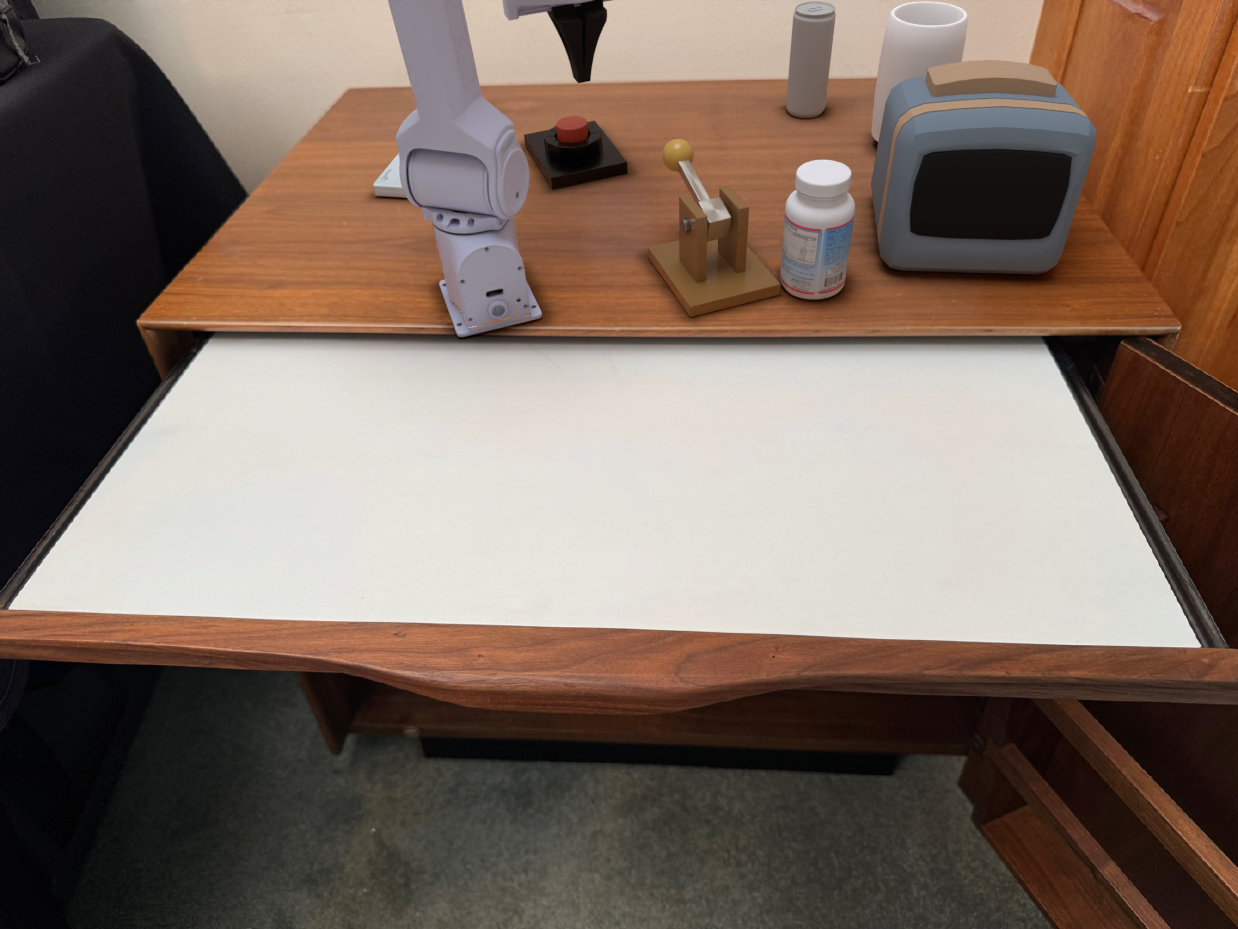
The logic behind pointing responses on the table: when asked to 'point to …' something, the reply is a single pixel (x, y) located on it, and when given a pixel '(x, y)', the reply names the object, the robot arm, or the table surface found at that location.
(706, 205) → the tap lever
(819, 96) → the beverage can
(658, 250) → the bracket
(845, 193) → the pill bottle
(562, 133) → the button
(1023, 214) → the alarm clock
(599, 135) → the button block
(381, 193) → the hard drive
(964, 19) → the cup
